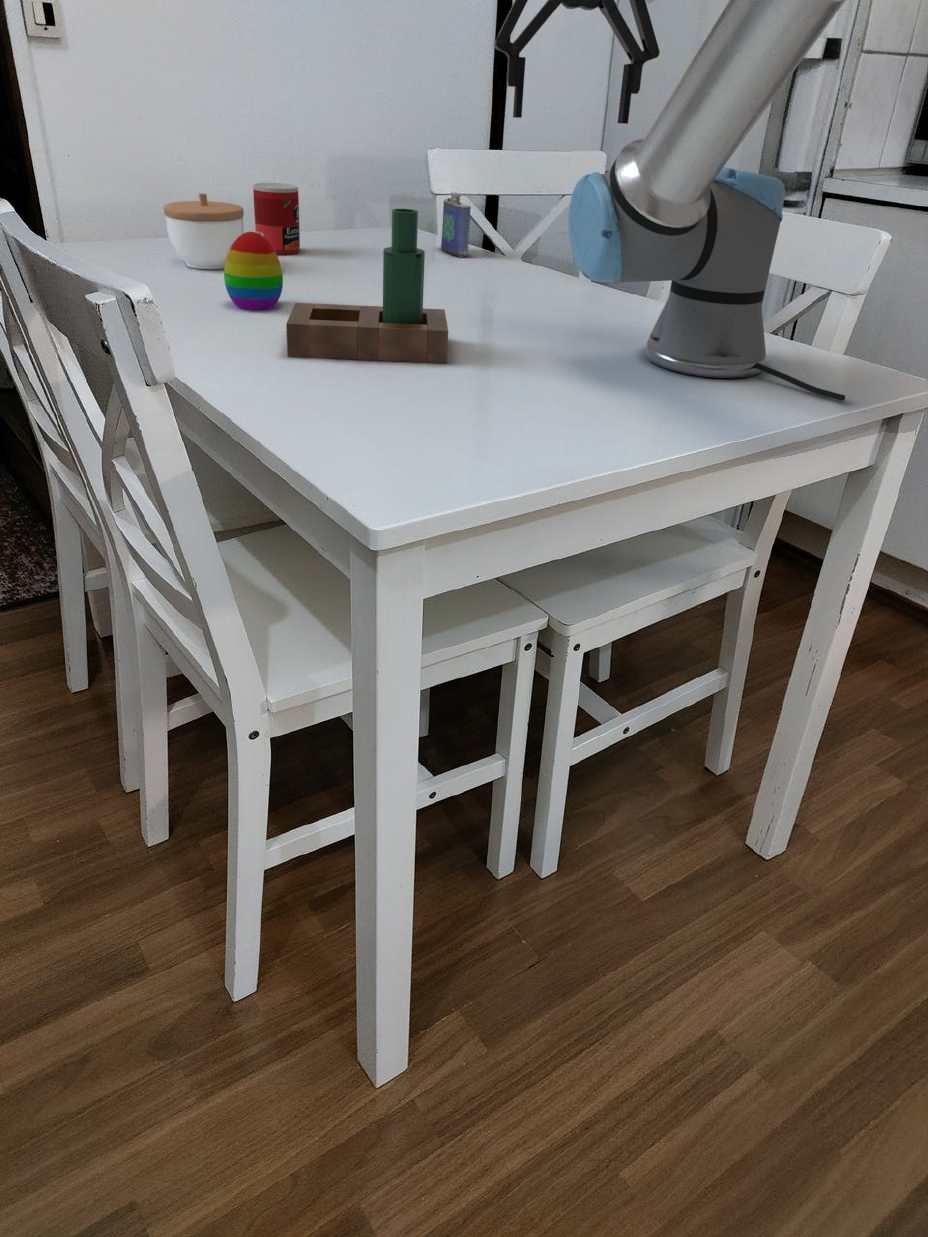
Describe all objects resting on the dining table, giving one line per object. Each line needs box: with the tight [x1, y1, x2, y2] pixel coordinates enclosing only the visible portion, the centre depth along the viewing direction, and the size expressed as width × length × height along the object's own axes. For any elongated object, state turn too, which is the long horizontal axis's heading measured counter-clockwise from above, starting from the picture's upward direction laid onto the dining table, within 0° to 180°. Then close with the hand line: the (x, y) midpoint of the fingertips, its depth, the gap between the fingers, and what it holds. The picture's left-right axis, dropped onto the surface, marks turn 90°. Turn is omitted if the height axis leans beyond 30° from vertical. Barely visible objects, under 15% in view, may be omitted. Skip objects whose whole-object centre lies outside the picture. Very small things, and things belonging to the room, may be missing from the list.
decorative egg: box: [223, 231, 284, 311], centre depth 132 cm, size 8×8×10 cm
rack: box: [285, 302, 449, 364], centre depth 118 cm, size 20×11×4 cm, turn 93°
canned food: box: [252, 182, 301, 256], centre depth 168 cm, size 8×8×11 cm
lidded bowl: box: [163, 192, 245, 270], centre depth 154 cm, size 13×13×11 cm
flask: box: [440, 191, 471, 258], centre depth 177 cm, size 9×3×11 cm, turn 25°
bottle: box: [382, 208, 426, 325], centre depth 115 cm, size 5×5×16 cm
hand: (570, 120), depth 118 cm, fingers open, 13 cm apart
